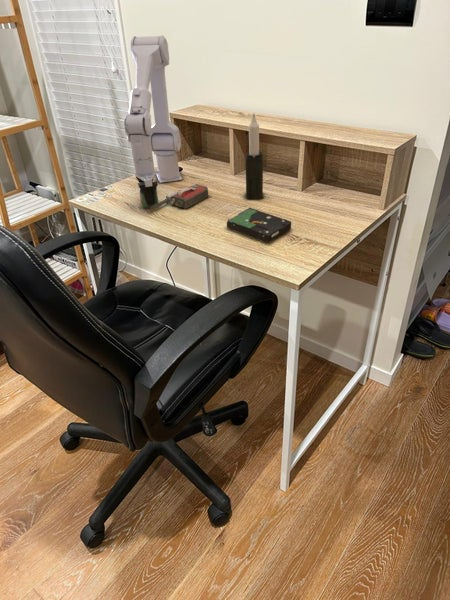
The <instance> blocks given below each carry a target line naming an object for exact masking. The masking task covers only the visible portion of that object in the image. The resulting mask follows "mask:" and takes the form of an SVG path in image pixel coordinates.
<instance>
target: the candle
mask: <svg viewBox="0 0 450 600" xmlns="http://www.w3.org/2000/svg"><path fill="white" fill-rule="evenodd" d="M251 115H252V117H251V121H250V122H249V125H248V145H249V146H248V149H249V150H248V152H247V153H246V154H245V157H244V158H245V198H246V199H247V200H262V199H263V196H264V154H263V153H262V152H261V151H260V125H259V123H258V121H257V118H256V113H255V112H253V113H252V114H251Z"/></svg>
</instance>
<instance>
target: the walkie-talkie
mask: <svg viewBox="0 0 450 600" xmlns="http://www.w3.org/2000/svg"><path fill="white" fill-rule="evenodd" d="M207 198H209V187H207V186H205V185H202V184H198V183H196V184H191V186H189V187H188V186H185V187H183V188H181V189H179V190H177V191H174V192H172V193H170V194H167V195H165V199H164V200H162V201H159V203H157V204H155V205H153V206H151V207H150V208H149V209H150V210H151V211H153V210H155V209H157V208H159V207H161V206H162V205H164V204H168V203H170V205H172V206H175V207H177V208H182V209H185V210H186V209H189V208H190V207H192V206H194V205H196V204H198V203H200V202H201V201H203V200H205V199H207Z"/></svg>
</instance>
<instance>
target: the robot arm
mask: <svg viewBox="0 0 450 600" xmlns="http://www.w3.org/2000/svg"><path fill="white" fill-rule="evenodd" d="M169 52H170V51H169V44H168V40H167V38H166V36H165V35H153V36H150V35H149V36H132V38H131V39H130V53H131V56H132V58H133V61H134V63H135V87H134V88H132V90H131V92H130V99H129V108H128V113H127V115H125V116H124V120H123V126H124V127H123V129H124V132H125V135H126V136H127V140H128V142H129V143H130V148H131V154H132V160H133V166H134V176H135V178H136V180H137V186H138V188H139V189H141V191H142V192H143V194H144V197H145V200H146V203H147V205H153V204H154V202H155V191H156V188H157V187H158V182H159V183H160V184H163V183H169V182H176V181H182V180H183V177H182V175H181V173H180V169H179V159H178V153H179V152H180V150H181V147H182V137H181V134H180V130H179V127H178V126H177V125H175V124H174V123H173V122H171V121H170V111H169V101H168V91H167V81H166V67H167V66H169V65H170V53H169ZM149 89H150V90H149ZM150 91H151V92H150ZM151 105H152V108H153V116H154V124H153V125H152V115H151ZM153 154H154V155H155V156H156V166H157V168H155V163H154V156H153ZM155 176H156V177H157V179H158V181H154V177H155ZM157 189H158V188H157Z"/></svg>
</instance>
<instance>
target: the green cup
mask: <svg viewBox="0 0 450 600" xmlns="http://www.w3.org/2000/svg"><path fill="white" fill-rule="evenodd" d="M138 193H139V200H140V205H141V206H142V208H144V209H150V207H151V206H153V205H155V204H157V203H159V202H160V201H159V200H160V199H159V194H158V188H156V191H155V202H154V204H153V205H147V203H146V200H145V197H144V194H143V192H142V191H141V189H140V188H139V189H138Z"/></svg>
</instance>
